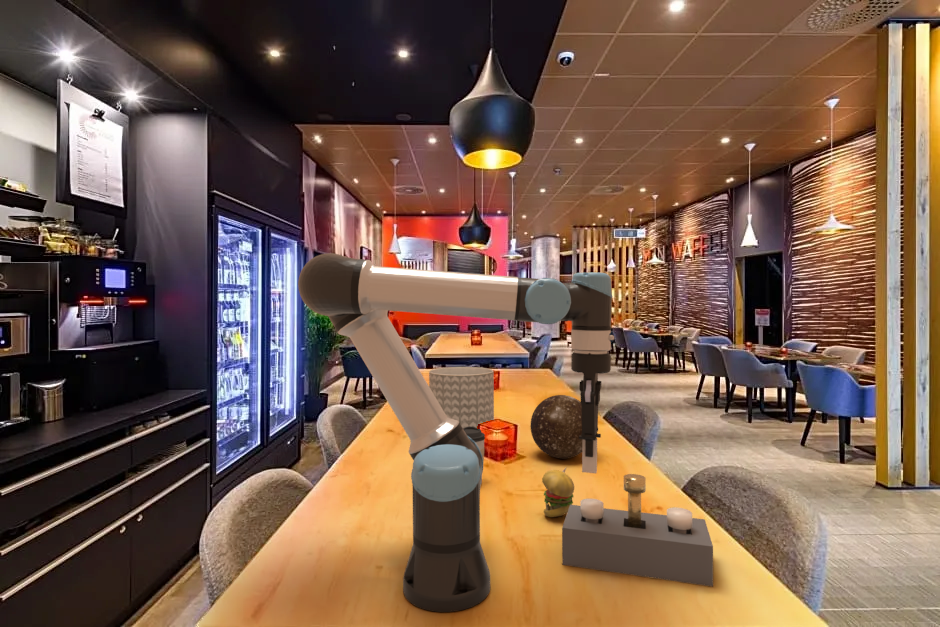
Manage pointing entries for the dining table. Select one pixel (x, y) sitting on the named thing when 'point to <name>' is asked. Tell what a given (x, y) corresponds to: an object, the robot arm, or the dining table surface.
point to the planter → (464, 393)
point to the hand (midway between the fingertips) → (589, 471)
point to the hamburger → (557, 492)
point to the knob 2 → (679, 519)
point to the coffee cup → (476, 438)
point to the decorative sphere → (558, 426)
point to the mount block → (638, 546)
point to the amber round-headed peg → (634, 498)
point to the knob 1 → (592, 510)
